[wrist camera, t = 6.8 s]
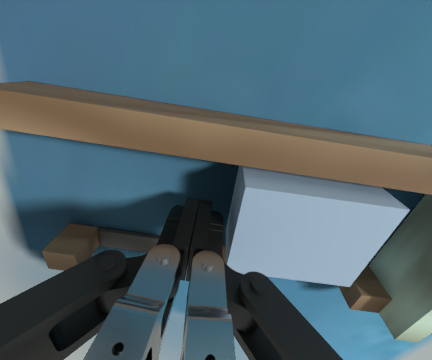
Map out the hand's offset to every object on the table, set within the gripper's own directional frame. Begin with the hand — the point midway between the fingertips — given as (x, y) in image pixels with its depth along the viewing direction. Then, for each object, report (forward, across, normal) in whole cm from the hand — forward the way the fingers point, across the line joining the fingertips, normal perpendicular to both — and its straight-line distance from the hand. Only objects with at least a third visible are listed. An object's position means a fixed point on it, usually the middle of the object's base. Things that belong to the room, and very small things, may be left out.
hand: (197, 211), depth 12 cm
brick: (+2, -6, -1) cm, 6 cm away
